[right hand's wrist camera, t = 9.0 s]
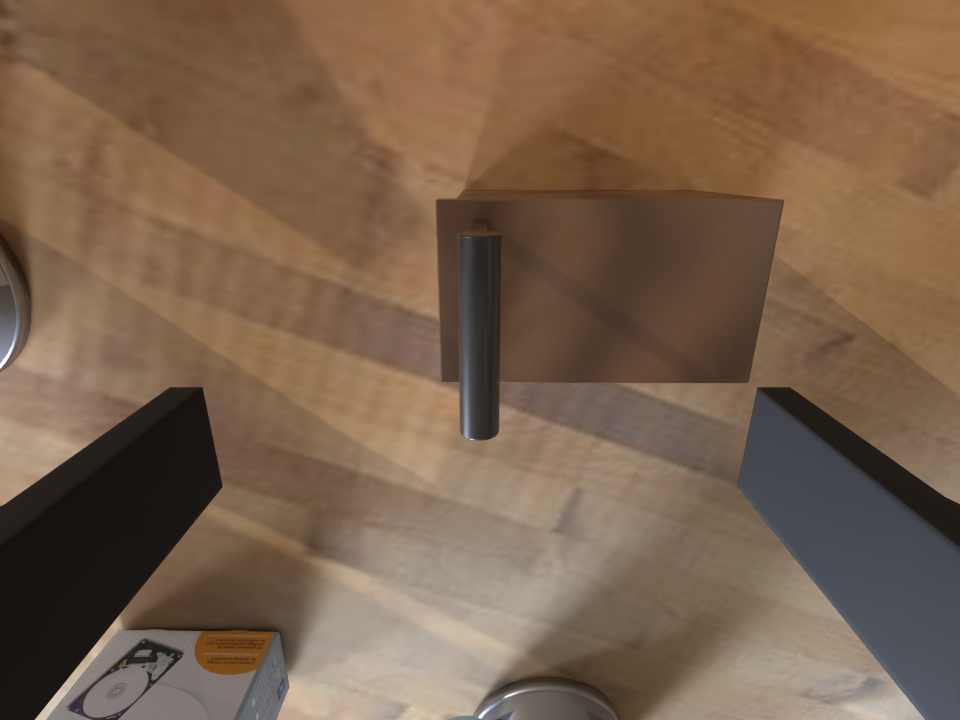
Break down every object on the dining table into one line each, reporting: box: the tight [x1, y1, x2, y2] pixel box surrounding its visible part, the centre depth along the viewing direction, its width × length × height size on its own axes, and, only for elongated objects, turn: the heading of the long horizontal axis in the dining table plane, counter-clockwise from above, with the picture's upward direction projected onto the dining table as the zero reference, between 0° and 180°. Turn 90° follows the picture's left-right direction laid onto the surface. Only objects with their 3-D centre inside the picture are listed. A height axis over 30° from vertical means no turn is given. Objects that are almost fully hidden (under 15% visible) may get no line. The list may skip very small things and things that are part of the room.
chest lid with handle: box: [436, 199, 784, 440], centre depth 23 cm, size 16×9×8 cm, turn 90°
